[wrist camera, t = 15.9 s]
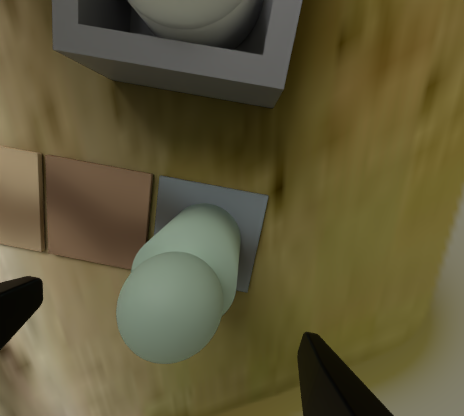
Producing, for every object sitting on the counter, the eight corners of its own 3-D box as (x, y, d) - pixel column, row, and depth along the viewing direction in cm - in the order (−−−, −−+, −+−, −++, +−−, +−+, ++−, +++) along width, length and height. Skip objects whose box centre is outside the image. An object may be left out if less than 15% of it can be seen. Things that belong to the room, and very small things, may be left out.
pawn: (174, 197, 14) (76, 258, 6) (246, 210, 14) (244, 291, 6) (167, 262, 15) (76, 387, 7) (234, 275, 15) (217, 417, 7)
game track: (-60, 134, 14) (-66, 134, 14) (268, 195, 14) (268, 196, 13) (-46, 232, 16) (-52, 233, 16) (247, 289, 15) (247, 292, 15)
